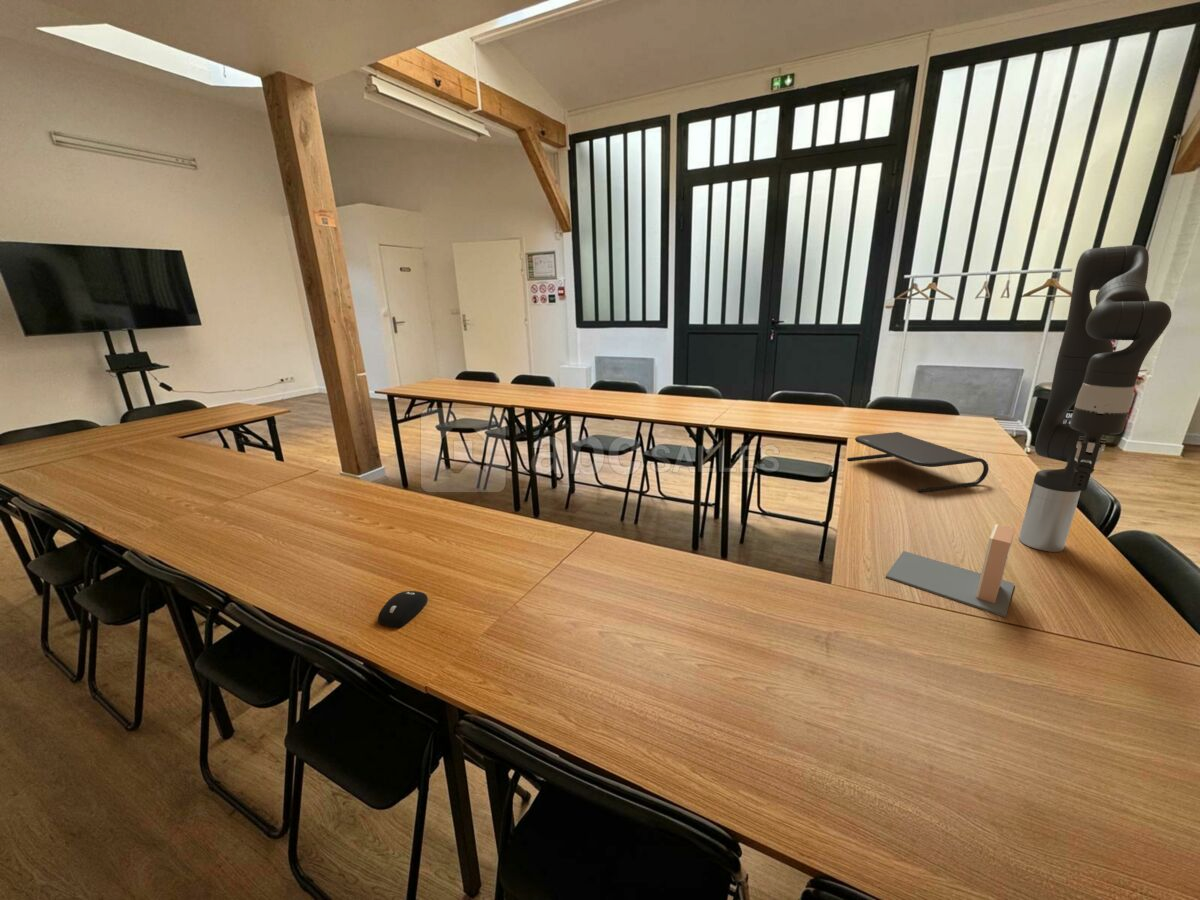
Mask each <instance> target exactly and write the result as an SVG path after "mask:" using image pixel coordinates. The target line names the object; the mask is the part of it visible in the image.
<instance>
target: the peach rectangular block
mask: <svg viewBox="0 0 1200 900" xmlns="http://www.w3.org/2000/svg"><path fill="white" fill-rule="evenodd" d="M1015 531H1016V528H1015V527H1010V526H1006V525H1001V524H997V523H995V524H994V527H993V529H992V532H991V534H990V536H989V538H988V544H987V548H986V551H985V555H984V560H983V563H982V564H983V565H982V568H981V572H980V573H981V576H980V580H979V584H978V588H977V592H976V596H975V597H976V598H979V599H983V600H986V601H989V602H992V603H995V602H996V599H997V595H998V592H999V589H1000V586H1001V582H1002V580H1003V577H1004V574H1005V569H1006V566H1007V561H1008V558H1009V553H1010V550H1011V546H1012V543H1013V539H1014V535H1015Z"/></svg>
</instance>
